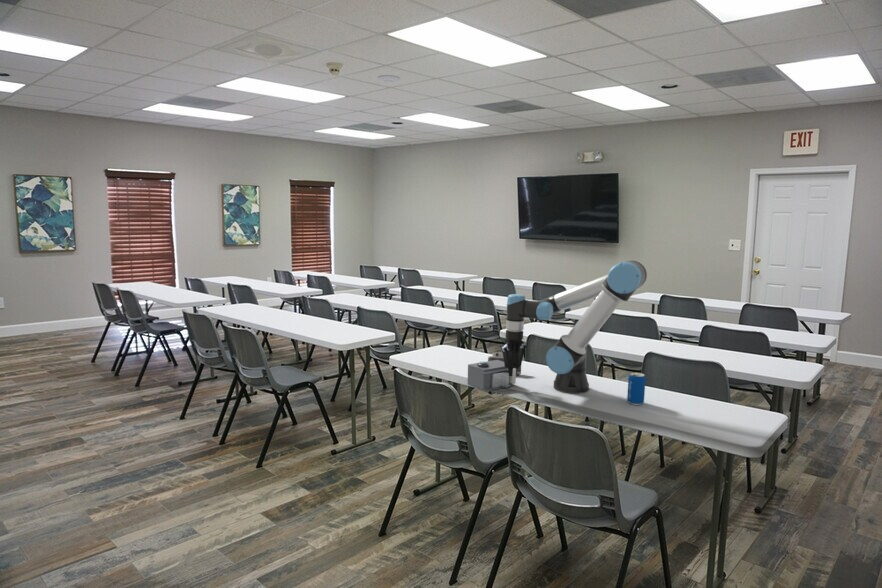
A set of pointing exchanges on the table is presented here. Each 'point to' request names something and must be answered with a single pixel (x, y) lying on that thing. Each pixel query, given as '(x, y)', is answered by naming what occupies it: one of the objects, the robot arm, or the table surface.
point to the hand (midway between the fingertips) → (512, 382)
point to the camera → (500, 357)
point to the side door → (500, 379)
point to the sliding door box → (485, 374)
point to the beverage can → (636, 388)
